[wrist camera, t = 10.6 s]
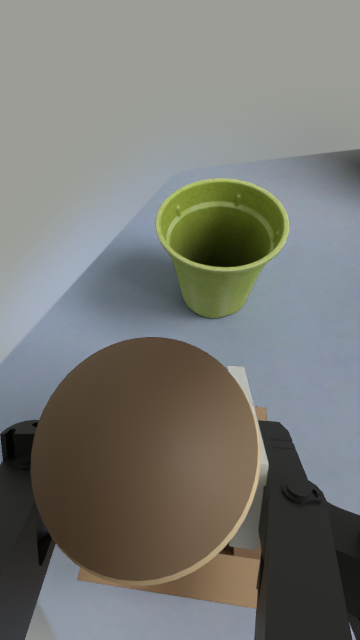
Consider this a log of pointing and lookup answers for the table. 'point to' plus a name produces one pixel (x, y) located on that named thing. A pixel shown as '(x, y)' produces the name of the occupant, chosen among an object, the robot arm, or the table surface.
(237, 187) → the plant pot
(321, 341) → the table surface
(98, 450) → the dowel
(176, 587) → the socket block
